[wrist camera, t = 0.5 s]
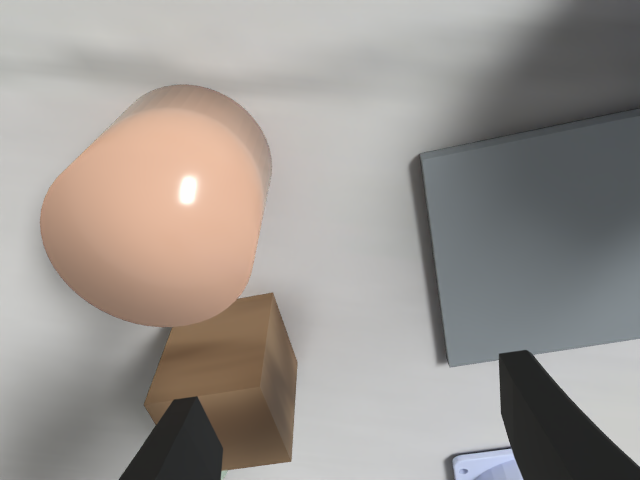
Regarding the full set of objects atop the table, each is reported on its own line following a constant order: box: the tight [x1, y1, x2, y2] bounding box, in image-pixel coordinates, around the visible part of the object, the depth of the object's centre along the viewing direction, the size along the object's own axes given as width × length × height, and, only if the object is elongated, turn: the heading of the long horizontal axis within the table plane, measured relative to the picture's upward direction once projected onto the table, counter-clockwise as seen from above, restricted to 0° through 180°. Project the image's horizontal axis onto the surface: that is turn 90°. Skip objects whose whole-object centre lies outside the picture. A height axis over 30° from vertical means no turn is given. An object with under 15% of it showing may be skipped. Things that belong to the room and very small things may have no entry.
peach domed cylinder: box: [40, 85, 272, 327], centre depth 17 cm, size 6×6×6 cm
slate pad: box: [420, 108, 640, 367], centre depth 21 cm, size 11×11×1 cm
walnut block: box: [144, 293, 297, 471], centre depth 22 cm, size 4×4×6 cm
